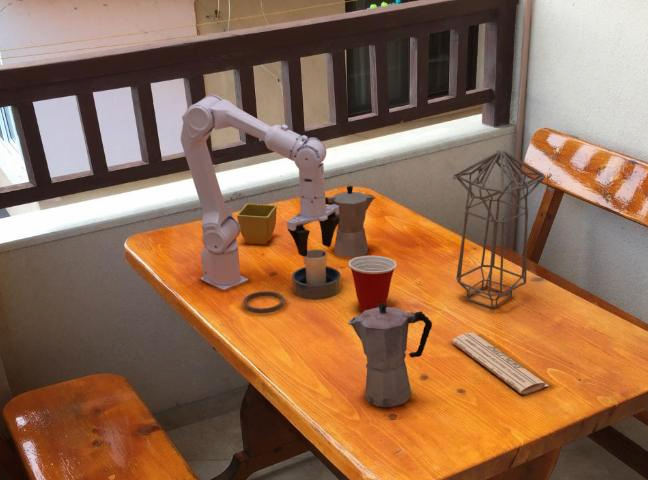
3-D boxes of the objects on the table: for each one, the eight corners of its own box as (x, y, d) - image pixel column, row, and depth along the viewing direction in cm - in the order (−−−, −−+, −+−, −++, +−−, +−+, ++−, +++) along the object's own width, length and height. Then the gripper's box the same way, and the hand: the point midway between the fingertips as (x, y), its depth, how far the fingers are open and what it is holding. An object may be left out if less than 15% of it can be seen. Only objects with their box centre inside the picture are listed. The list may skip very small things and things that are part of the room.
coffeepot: (371, 242, 232) (370, 178, 223) (379, 256, 224) (379, 189, 215) (315, 248, 230) (312, 183, 220) (321, 262, 222) (319, 195, 212)
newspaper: (451, 344, 184) (451, 337, 183) (478, 336, 187) (479, 329, 186) (520, 396, 166) (521, 388, 166) (549, 386, 169) (550, 378, 168)
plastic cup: (403, 304, 201) (404, 256, 195) (385, 324, 193) (385, 275, 186) (361, 296, 205) (360, 249, 198) (341, 315, 197) (340, 267, 190)
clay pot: (300, 288, 208) (298, 254, 203) (317, 281, 211) (315, 247, 206) (315, 295, 204) (314, 260, 200) (333, 288, 208) (331, 253, 203)
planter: (282, 290, 208) (281, 275, 206) (318, 276, 215) (317, 261, 213) (315, 305, 201) (314, 290, 199) (350, 290, 208) (350, 274, 206)
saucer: (235, 306, 202) (235, 300, 201) (266, 293, 207) (266, 287, 206) (261, 318, 196) (260, 313, 195) (292, 305, 201) (292, 299, 201)
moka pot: (348, 385, 171) (346, 294, 160) (425, 380, 172) (427, 289, 161) (352, 411, 163) (350, 317, 152) (433, 406, 164) (436, 313, 153)
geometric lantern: (483, 278, 212) (493, 136, 193) (537, 298, 202) (552, 150, 184) (442, 299, 203) (448, 152, 184) (495, 320, 193) (508, 167, 175)
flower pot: (270, 248, 230) (268, 216, 225) (239, 246, 232) (236, 214, 227) (279, 236, 237) (277, 205, 233) (248, 234, 239) (246, 203, 234)
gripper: (300, 207, 188) (303, 264, 196) (347, 190, 197) (348, 246, 204) (279, 199, 193) (283, 255, 200) (326, 183, 201) (328, 238, 209)
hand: (314, 250), depth 202 cm, fingers open, 7 cm apart
